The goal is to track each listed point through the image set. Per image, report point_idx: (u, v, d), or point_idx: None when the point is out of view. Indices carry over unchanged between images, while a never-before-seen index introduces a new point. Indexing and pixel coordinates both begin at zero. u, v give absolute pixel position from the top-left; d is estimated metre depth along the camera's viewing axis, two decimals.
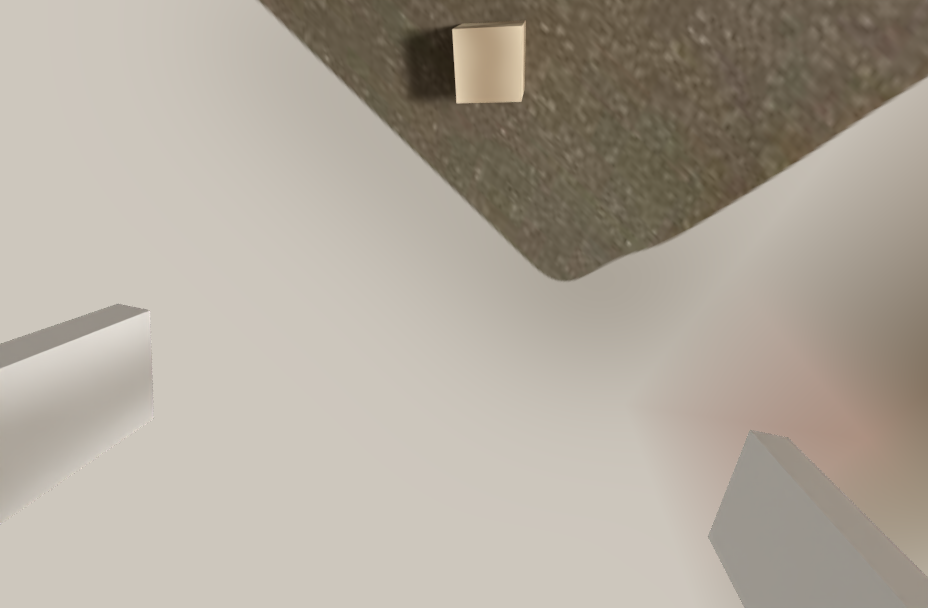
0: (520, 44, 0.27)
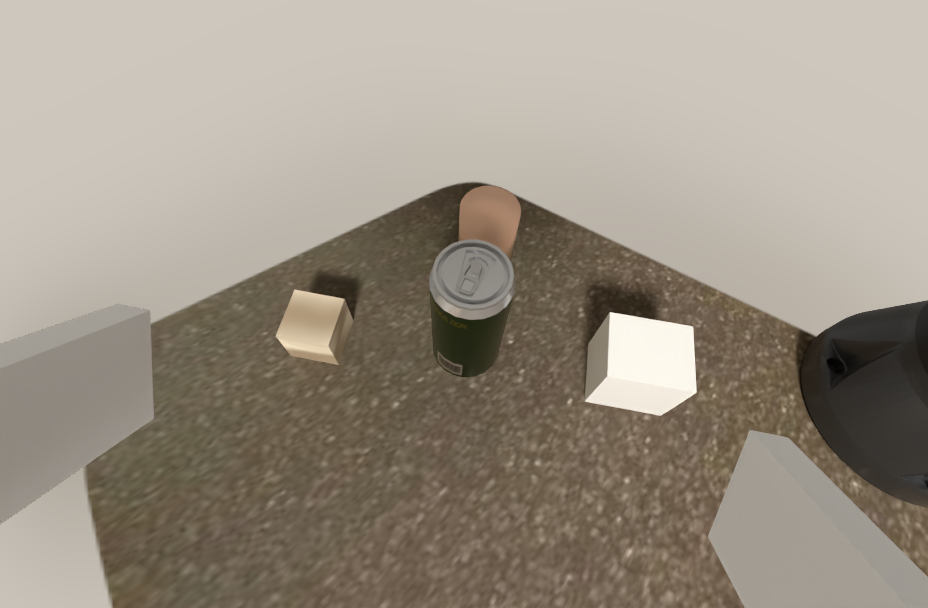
0: (316, 342, 0.35)
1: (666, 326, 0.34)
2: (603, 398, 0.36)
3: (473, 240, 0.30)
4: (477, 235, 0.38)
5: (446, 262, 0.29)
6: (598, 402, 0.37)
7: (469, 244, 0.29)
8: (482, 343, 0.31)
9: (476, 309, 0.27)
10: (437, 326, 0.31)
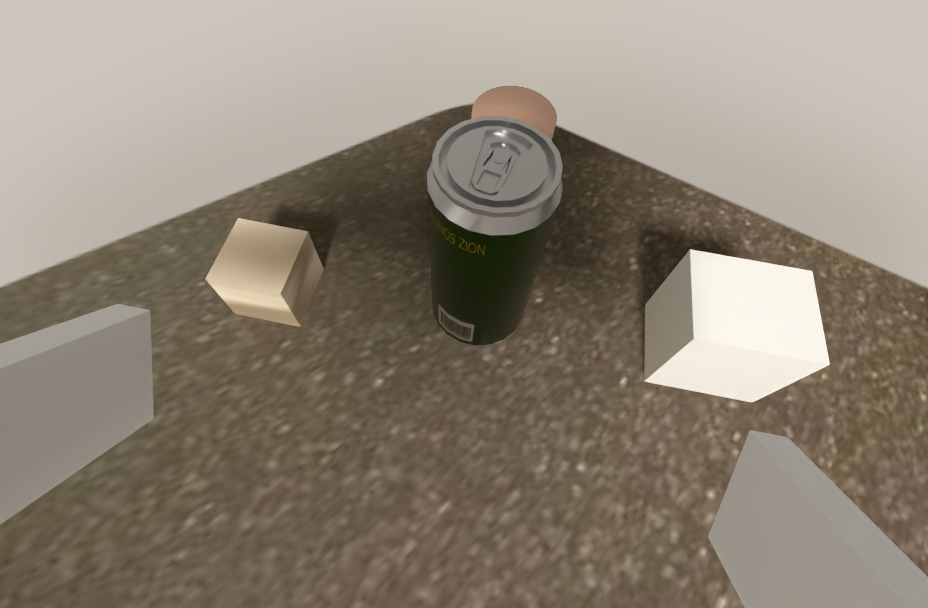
0: (263, 288, 0.24)
1: (773, 269, 0.23)
2: (673, 377, 0.25)
3: (497, 117, 0.19)
4: None
5: (454, 146, 0.18)
6: (663, 383, 0.26)
7: (490, 124, 0.19)
8: (507, 285, 0.21)
9: (503, 214, 0.17)
10: (439, 258, 0.21)
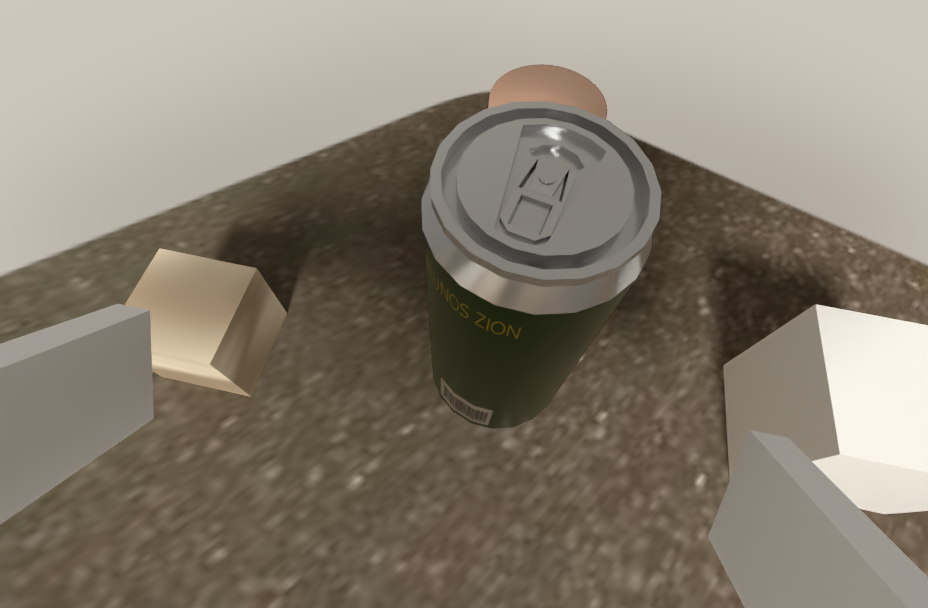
0: (185, 356, 0.16)
1: None
2: None
3: (541, 104, 0.11)
4: None
5: (469, 153, 0.10)
6: None
7: (530, 115, 0.11)
8: (548, 371, 0.13)
9: (560, 282, 0.09)
10: (441, 329, 0.13)
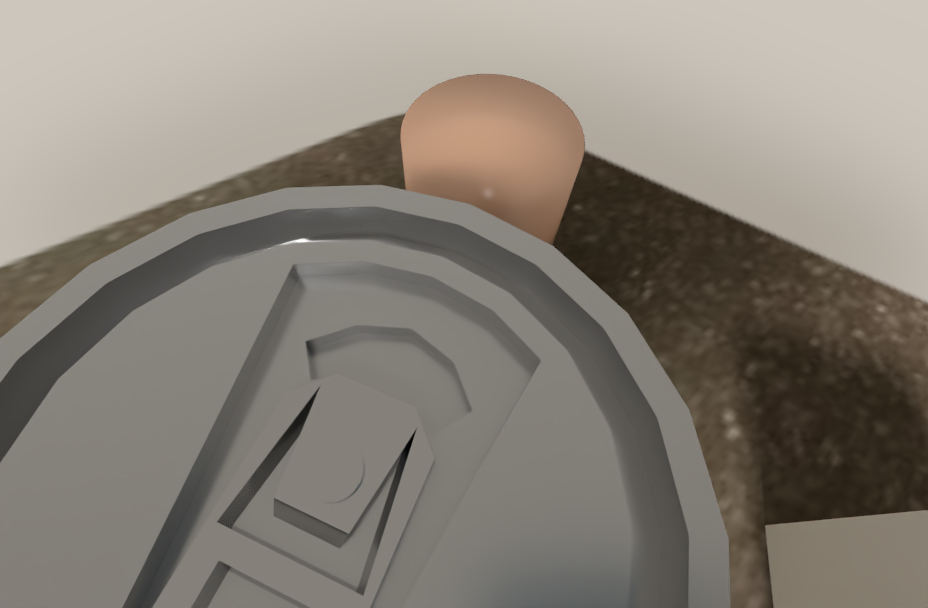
0: None
1: None
2: None
3: (369, 191, 0.04)
4: None
5: (77, 382, 0.03)
6: None
7: (335, 223, 0.04)
8: None
9: None
10: None
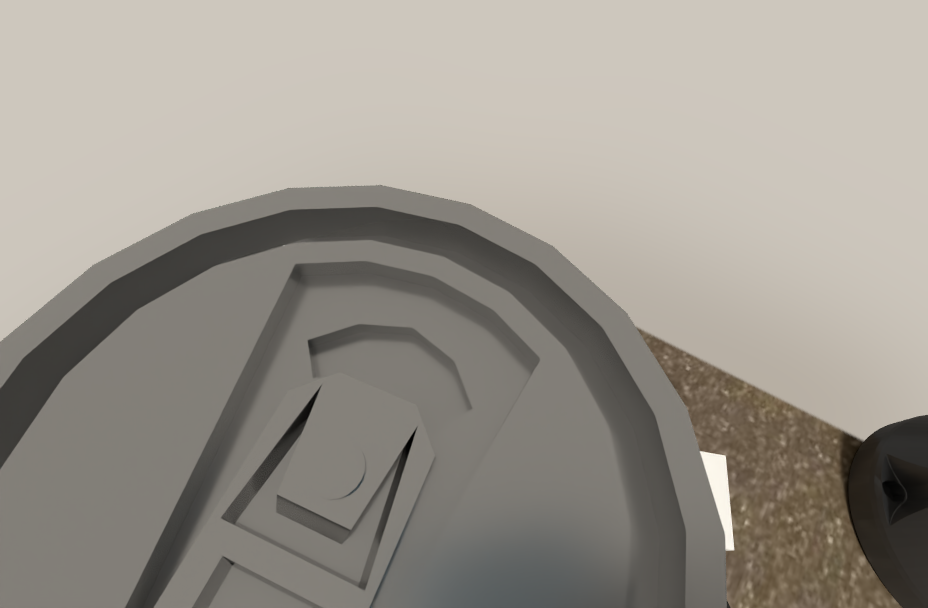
0: None
1: None
2: None
3: (370, 192, 0.04)
4: None
5: (82, 379, 0.03)
6: None
7: (337, 223, 0.04)
8: None
9: None
10: None
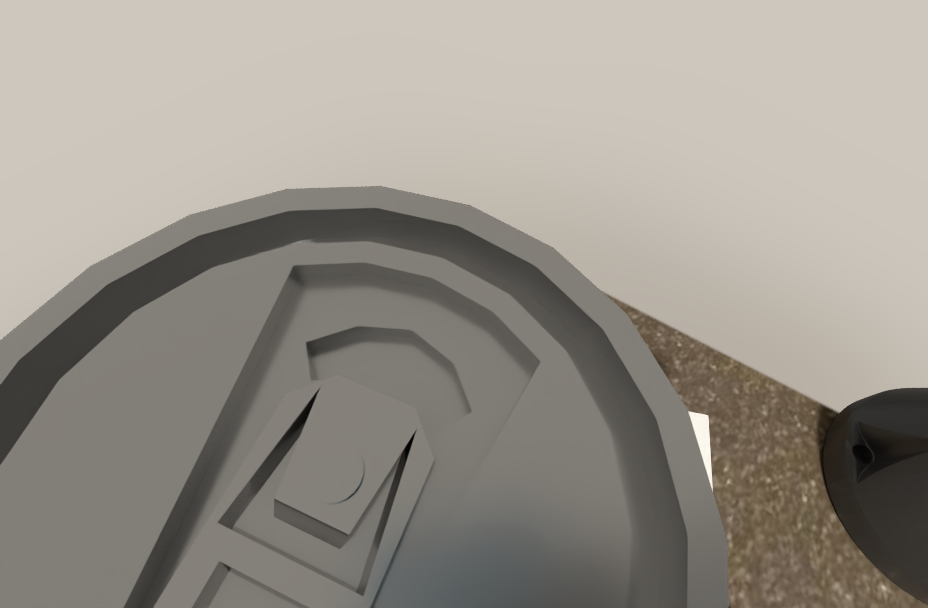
0: None
1: None
2: None
3: (370, 193, 0.04)
4: None
5: (77, 383, 0.03)
6: None
7: (335, 224, 0.04)
8: None
9: None
10: None
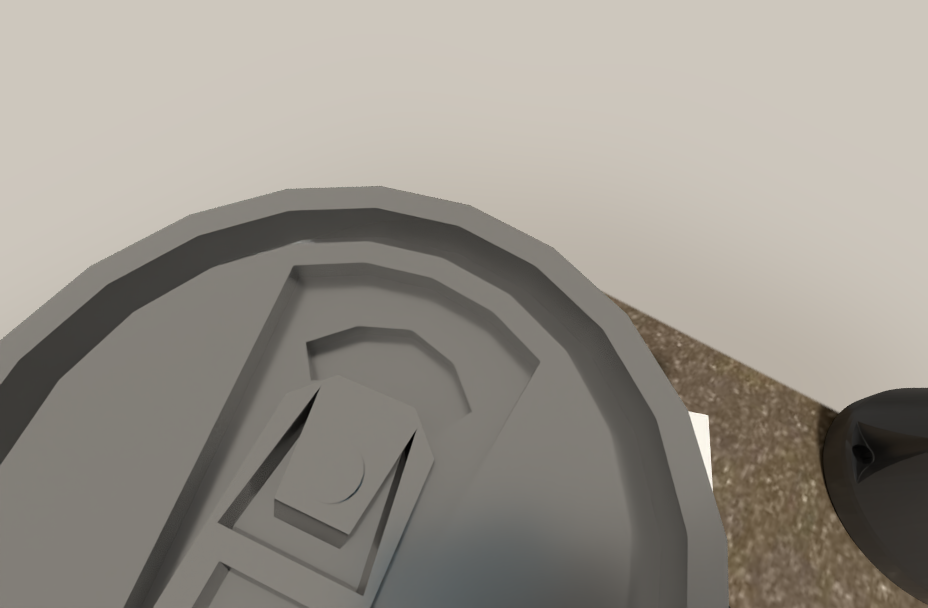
0: None
1: None
2: None
3: (370, 193, 0.04)
4: None
5: (77, 383, 0.03)
6: None
7: (335, 224, 0.04)
8: None
9: None
10: None
